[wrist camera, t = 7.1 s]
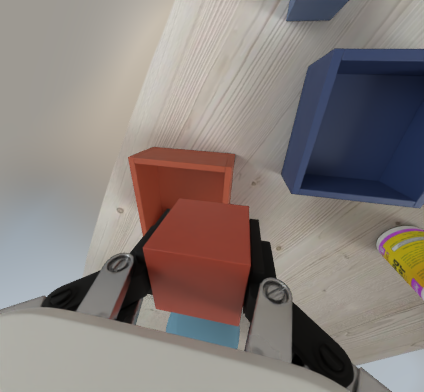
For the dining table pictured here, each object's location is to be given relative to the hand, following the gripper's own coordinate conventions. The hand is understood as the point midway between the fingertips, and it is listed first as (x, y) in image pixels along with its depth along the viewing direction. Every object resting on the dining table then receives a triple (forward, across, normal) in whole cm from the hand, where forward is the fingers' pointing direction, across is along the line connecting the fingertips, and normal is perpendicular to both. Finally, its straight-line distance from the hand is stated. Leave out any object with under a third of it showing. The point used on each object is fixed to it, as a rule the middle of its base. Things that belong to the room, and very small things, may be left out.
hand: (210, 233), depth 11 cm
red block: (0, 0, 0) cm, 0 cm away
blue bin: (+18, -15, -5) cm, 24 cm away
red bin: (+18, +6, +5) cm, 19 cm away
